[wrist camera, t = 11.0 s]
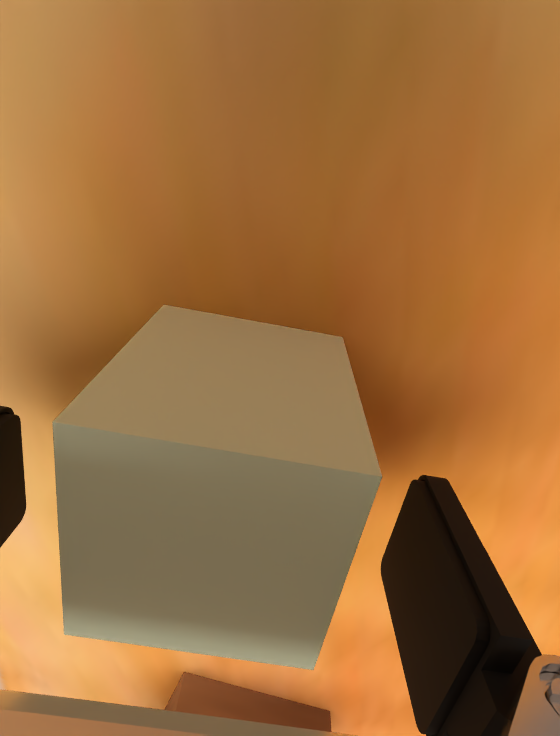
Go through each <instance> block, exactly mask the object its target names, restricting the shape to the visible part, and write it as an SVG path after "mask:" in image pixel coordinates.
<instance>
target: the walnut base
mask: <svg viewBox="0 0 560 736" xmlns="http://www.w3.org/2000/svg"><path fill="white" fill-rule="evenodd" d="M165 710H167V711H175V712H183V713H190V714H198V715H206V716H214V717H222V718H229V719H237V720H244V721H252V722H259V723H267V724H274V725H282V726H289V727H296V728H304V729H311V730H319V731H326V732H331V719H330V711H327V710H323V709H320V708H316V707H312V706H309V705H305V704H301V703H297V702H294V701H290V700H286V699H283V698H279V697H275V696H271V695H268V694H264V693H260V692H257V691H253V690H249V689H245V688H242V687H238V686H234V685H231V684H227V683H223V682H219V681H216V680H212V679H208V678H205V677H201V676H197V675H193V674H190V673H186V672H184V673H183V675H182V677H181V679H180V681H179V683H178V685H177V687H176V689H175V690H174V692H173V694H172V696H171V698H170V700H169V702H168V704H167V706H166V708H165Z"/></svg>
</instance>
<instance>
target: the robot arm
mask: <svg viewBox="0 0 560 736" xmlns="http://www.w3.org/2000/svg"><path fill="white" fill-rule="evenodd" d="M25 510H26V495H25V480H24V466H23V451H22V437H21V422H20V418H19V416H17V415H14V412H13V410H12V409H11V408H9V407H4V406H0V547H1V546H2V545H3V543H4V542H5V541H6V540H7V538H8V537H9V536H10V535H11V533H12V532H13V531H14V530H15V528H16V527H17V526H18V524H19V523H20V522H21V520H22V518H23V516H24V514H25ZM381 576H382V581H383V585H384V589H385V593H386V598H387V602H388V606H389V610H390V615H391V619H392V623H393V627H394V632H395V636H396V640H397V644H398V649H399V653H400V657H401V661H402V666H403V670H404V674H405V678H406V682H407V687H408V691H409V695H410V699H411V704H412V708H413V712H414V716H415V721H416V724H417V727H418V730H419V731H420V732H421V734H426V736H560V657H559V656H556V655H542V654H541V652H540V650H539V649H538V647H537V645H536V643H535V641H534V639H533V637H532V635H531V634H530V632H529V630H528V628H527V626H526V624H525V622H524V621H523V619H522V617H521V615H520V613H519V611H518V609H517V607H516V606H515V604H514V602H513V600H512V598H511V596H510V594H509V593H508V591H507V589H506V587H505V585H504V583H503V581H502V579H501V578H500V576H499V574H498V572H497V570H496V568H495V566H494V564H493V563H492V561H491V559H490V557H489V555H488V553H487V551H486V550H485V548H484V546H483V545H482V543H481V541H480V539H479V537H478V535H477V533H476V531H475V530H474V528H473V526H472V524H471V522H470V520H469V518H468V517H467V515H466V513H465V511H464V509H463V507H462V505H461V503H460V502H459V500H458V498H457V496H456V494H455V492H454V490H453V488H452V487H451V485H450V483H449V481H448V480H447V479H445V478H439V477H433V476H427V475H422V476H420V478H419V479H418V480H413V481H412V482H411V484H410V486H409V489H408V491H407V494H406V497H405V499H404V502H403V505H402V507H401V510H400V513H399V515H398V518H397V521H396V523H395V526H394V529H393V531H392V534H391V537H390V539H389V542H388V545H387V547H386V550H385V553H384V555H383V558H382V562H381ZM0 736H356V735H349V734H341V733H334V732H326V731H319V730H311V729H304V728H296V727H289V726H282V725H274V724H267V723H259V722H252V721H244V720H237V719H229V718H222V717H214V716H206V715H198V714H190V713H183V712H175V711H167V710H159V709H152V708H144V707H136V706H128V705H120V704H112V703H105V702H97V701H89V700H81V699H73V698H65V697H57V696H49V695H41V694H33V693H25V692H16V691H8V690H0Z"/></svg>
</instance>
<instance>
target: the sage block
mask: <svg viewBox="0 0 560 736" xmlns="http://www.w3.org/2000/svg"><path fill="white" fill-rule="evenodd" d="M53 440H54V458H55V476H56V495H57V513H58V531H59V550H60V568H61V586H62V605H63V623H64V635H71V636H78V637H86V638H93V639H100V640H107V641H114V642H121V643H128V644H135V645H142V646H149V647H156V648H163V649H170V650H177V651H184V652H191V653H198V654H205V655H212V656H219V657H226V658H233V659H240V660H247V661H254V662H261V663H268V664H275V665H282V666H289V667H296V668H303V669H310V670H314V667H315V664H316V661H317V658H318V656H319V653H320V650H321V647H322V644H323V642H324V639H325V636H326V633H327V630H328V627H329V625H330V622H331V619H332V616H333V613H334V611H335V608H336V605H337V602H338V599H339V597H340V594H341V591H342V588H343V585H344V583H345V580H346V577H347V574H348V571H349V568H350V566H351V563H352V560H353V557H354V554H355V552H356V549H357V546H358V543H359V540H360V538H361V535H362V532H363V529H364V526H365V524H366V521H367V518H368V515H369V512H370V509H371V507H372V504H373V501H374V498H375V495H376V493H377V490H378V487H379V484H380V481H381V479H382V474H381V471H380V467H379V464H378V460H377V457H376V453H375V449H374V446H373V442H372V439H371V435H370V432H369V428H368V425H367V421H366V418H365V414H364V411H363V407H362V403H361V400H360V396H359V393H358V389H357V386H356V382H355V379H354V375H353V372H352V368H351V365H350V361H349V358H348V354H347V350H346V347H345V343H344V340H343V337H340V336H335V335H329V334H324V333H318V332H313V331H307V330H302V329H296V328H291V327H285V326H280V325H274V324H269V323H263V322H258V321H252V320H247V319H241V318H236V317H230V316H225V315H219V314H214V313H208V312H203V311H197V310H192V309H186V308H181V307H175V306H169V305H163V306H162V307H161V308H160V309H159V310H158V311H157V312H156V313H155V314H154V315H153V316H152V317H151V318H150V319H149V320H148V321H147V323H146V324H145V325H144V326H143V327H142V328H141V329H140V330H139V331H138V332H137V333H136V334H135V335H134V336H133V337H132V338H131V339H130V341H129V342H128V343H127V344H126V345H125V346H124V347H123V348H122V349H121V350H120V351H119V352H118V353H117V354H116V355H115V356H114V357H113V358H112V360H111V361H110V362H109V363H108V364H107V365H106V366H105V367H104V368H103V369H102V370H101V371H100V372H99V373H98V374H97V375H96V376H95V377H94V379H93V380H92V381H91V382H90V383H89V384H88V385H87V386H86V387H85V388H84V389H83V390H82V391H81V392H80V393H79V394H78V395H77V397H76V398H75V399H74V400H73V401H72V402H71V403H70V404H69V405H68V406H67V407H66V408H65V409H64V410H63V411H62V412H61V413H60V414H59V416H58V417H57V418H56V419H55V420H54V421H53Z"/></svg>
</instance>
